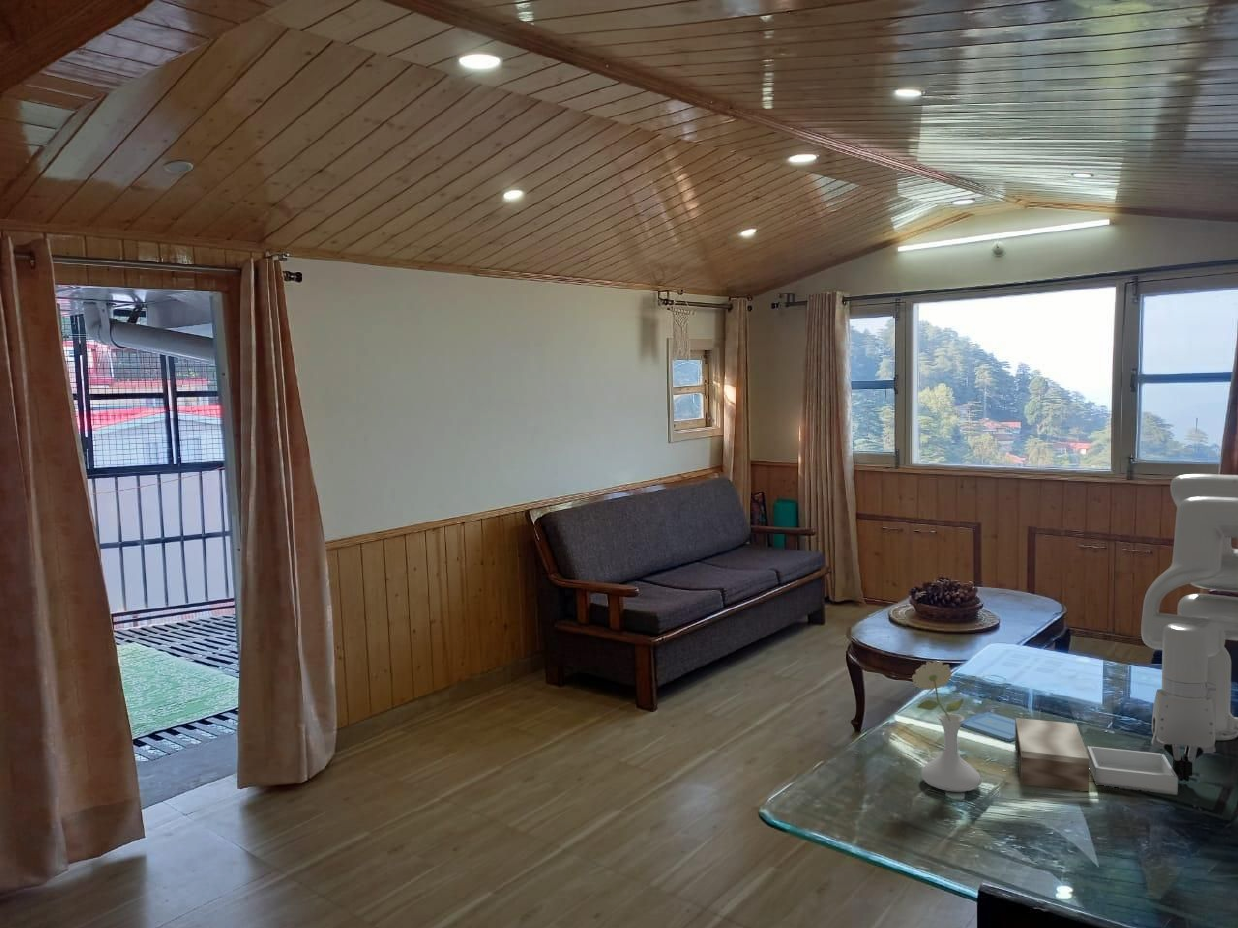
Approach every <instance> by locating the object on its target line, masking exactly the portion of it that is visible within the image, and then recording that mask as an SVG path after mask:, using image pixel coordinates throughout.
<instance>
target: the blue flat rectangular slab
mask: <svg viewBox="0 0 1238 928" xmlns="http://www.w3.org/2000/svg"><path fill="white" fill-rule="evenodd" d="M962 726H964V727H963V728H965V727H966V729H968V728H969V729H968V730H971V729H972V731H974V732H977V731H978V732H977V733H980V732H981V734H983V735H987V736H989V737H992V738H995V737H997V738H996V739H998V738H1000V739H999V740H1001V739H1003V740H1002V741H1004V740H1007V741H1011V742H1013V741H1012V740H1014V741H1015V719H1012V718H1010V717H1007V716H1003V715H1001V714H1000V715H999V714H997V713H993V712H990V711H986V712H983V713H980V714H977V715H974V716H971V717H968V718H966V719H965V718H964V721H963V722H962V723H961V725H960V727H962ZM1007 741H1006V742H1007Z"/></svg>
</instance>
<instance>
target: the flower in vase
mask: <svg viewBox="0 0 1238 928" xmlns="http://www.w3.org/2000/svg"><path fill="white" fill-rule="evenodd" d="M952 674H953V673H952V671H951V667H950V664H944V662H943V661H937V660H934V661H932V662H931V661H926V663H925V664H921V665H920V667H918V668H917V669H915V672H914V674H913V675H912V676H911V678H912V681H913V683H914V686H915V687H916V688H917V687H918V689H923V690H924V691H926V690H927V691H928V690H930V691H933V690H934V689H935V694H936V701H935V700H931V699H928V700H924V701H922V702H920V703H919V704H918V705H917V706H916V708H917V709H923V710H927V711H932V710H934V709H936V708H937V707H938V706H939V707H940V708H941V711H942V712H943V713H939V714H937V718H938V720H939V722H940V723H941V725H942V729H943V735H944V748H943V749H944V750H943V751H942V754H940V755H939V756H938V757H936V758H934V759H932V760H931V761H929V762H927V763H925V765H924V766H923V767H922V769H921V771H920V777H921V778H922V779H923V781H924V782H925V783H927V784H928V785H929V786H932V787H933V788H936V789H939V790H942V791H947V792H955V793H957V792H958V793H959V792H962V793H963V792H967V791H968V792H970V791H973V790H976V789H977V788H979V786H980V785H981V784H982V779H981V776H980V773H979V772H978V771H977V770H976V769H975V767H973V766H972V765H971V764H970V763H968V762H967V761H965V760H964V759H963V758H962V757H961V756H960V755H959V752H958V747H957V746H958V743H957V742H958V734H959V729H960V727H961V726H960V725H961V723H962V722H963V721H964V720H965V717H964V716H962V715H960V714H956V713H950V712H956V711H958V710H959V709H960V708H962V706H963V703H964V698H961V699H958V700H954V701H952V702H951V701H950V702H949V703H948V704H947V705H946V708H944V707H943V705H942V703H941V702H940V699H939V693H938V689H940V687H944V686H946V685H947V683H949V682H950V680H951V679H952V678H953V676H952Z"/></svg>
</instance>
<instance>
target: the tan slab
mask: <svg viewBox="0 0 1238 928" xmlns="http://www.w3.org/2000/svg"><path fill="white" fill-rule="evenodd" d="M1014 720H1015V740H1014V744H1015V745H1014V748H1015V749H1016V750H1015V752H1016V753H1015V755H1017V756H1016V760H1017V762H1018V773H1019V777H1020V784H1021V785H1028V786H1034V787H1041V788H1042V787H1043V788H1050V787H1051V789H1058V788H1061V789H1060V790H1066V789H1071V790H1070V791H1074V790H1081V791H1080V792H1082V791H1088V792H1087V793H1090V769H1089V756H1088V753H1087V747H1086V746H1085V743H1084V740H1083V738H1082V737H1083V736H1082V735H1081V733H1080V729H1079V726H1078V725H1077V723H1072V722H1060V721H1051V720H1049V721H1048V720H1043V719H1042V720H1039V719H1032V718H1020V717H1015V719H1014Z"/></svg>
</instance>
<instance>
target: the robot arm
mask: <svg viewBox="0 0 1238 928" xmlns="http://www.w3.org/2000/svg"><path fill="white" fill-rule="evenodd" d="M1169 488H1170V495H1171V497H1172V500H1173V502H1174V505H1175V506H1176V513H1175V514H1176V516H1175V527H1174V541H1173V550H1172V551H1173V552H1172V559H1171V560H1172V562H1171V565H1170V566H1169V568H1167V569H1166V570H1165V571H1164V572H1163V573H1161V574H1159V576H1158V577H1156V578H1155V579H1154V581H1153V582H1152V583H1151V585H1150V586H1149V588H1148V589H1147V591H1146V593H1145V595H1144V596H1145V597H1144V599H1143V607H1142V614H1141V615H1142V616H1141V625H1140V626H1141V627H1140V635H1141V639H1142V641H1143V643H1144V644H1145V645H1146V646H1147V647H1149V648H1151V649H1155V650H1160V651H1162V655H1161V659H1162V660H1161V688H1158V689H1156V691H1155V692H1156V693H1155V695H1154V696H1155V697H1154V701H1153V707H1152V708H1153V709H1152V717H1151V734H1152V735H1153V736H1152V739H1151V743H1150V744H1151V745H1152V747H1154V748H1156V749H1160V750H1164V751H1166V752H1167V753H1168V754H1169V755H1170V757H1172V768H1173V770H1174V772H1175V773H1176V775H1177V777H1178V782H1180V781H1181V782H1183V781H1184V782H1187V783H1188V782H1189V781H1190V777H1193V762H1195V760H1196V759H1198V758H1199V757H1200V756H1202V755H1203V754H1214V753H1216V750H1217V749H1216V747H1215V743H1216V741H1230V740H1231V741H1232V740H1235V739H1236V738H1238V717H1236V716H1234V715H1232V713H1231V688H1232V685H1231V684H1232V659H1231V655H1230V652H1229V651H1228V650H1227V648H1226V647H1225V645H1226V640H1233V641H1238V597H1236V596H1230V595H1229V596H1227V595H1222V594H1221V595H1220V594H1210V593H1191V594H1186V595H1184V596H1183V597H1181V599H1180V600H1179V602H1178V604H1177V611H1176V612H1177V614H1175V613H1174V614H1171V613H1164V612H1159V611H1160V606H1161V603H1162V600H1163V599H1164V597H1165V596H1166V595H1168V593H1170V592H1171V591H1174V590H1175V589H1177V588H1179V587H1183V586H1185V585H1188V584H1190V585H1192V586H1193V587H1196V588H1201V589H1203V590H1204V589H1206V590H1215V591H1224V592H1232V593H1233V592H1236V593H1238V548H1233V547H1232V538H1233V539H1238V474H1221V473H1220V474H1218V473H1217V474H1216V473H1190V474H1189V473H1187V474H1180V475H1177V476H1175V477H1173V478H1172V479H1171V482H1170V486H1169ZM1181 746H1182V747H1185V749H1184V752H1183V753H1184V754H1182V753H1181V749H1180V747H1181ZM1181 754H1182V755H1181Z"/></svg>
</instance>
